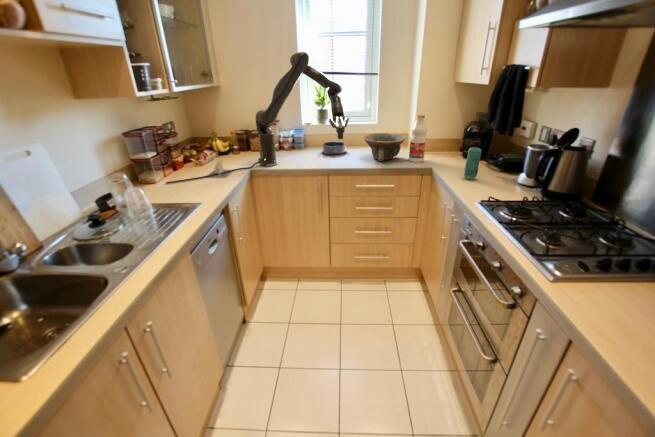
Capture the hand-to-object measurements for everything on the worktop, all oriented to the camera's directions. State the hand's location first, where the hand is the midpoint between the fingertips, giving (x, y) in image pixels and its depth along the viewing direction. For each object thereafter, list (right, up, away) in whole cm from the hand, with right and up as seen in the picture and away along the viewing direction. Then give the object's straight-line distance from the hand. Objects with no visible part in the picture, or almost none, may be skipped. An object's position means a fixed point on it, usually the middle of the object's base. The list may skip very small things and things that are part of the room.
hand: (340, 132), depth 203 cm
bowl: (+29, -16, +6) cm, 34 cm away
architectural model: (-73, -29, -16) cm, 80 cm away
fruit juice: (+49, -18, +1) cm, 52 cm away
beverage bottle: (+67, -35, -35) cm, 84 cm away
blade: (0, -3, +4) cm, 5 cm away
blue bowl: (-4, -7, +27) cm, 28 cm away
